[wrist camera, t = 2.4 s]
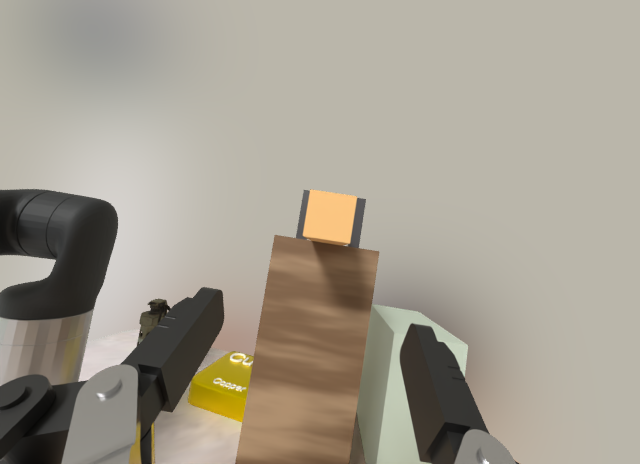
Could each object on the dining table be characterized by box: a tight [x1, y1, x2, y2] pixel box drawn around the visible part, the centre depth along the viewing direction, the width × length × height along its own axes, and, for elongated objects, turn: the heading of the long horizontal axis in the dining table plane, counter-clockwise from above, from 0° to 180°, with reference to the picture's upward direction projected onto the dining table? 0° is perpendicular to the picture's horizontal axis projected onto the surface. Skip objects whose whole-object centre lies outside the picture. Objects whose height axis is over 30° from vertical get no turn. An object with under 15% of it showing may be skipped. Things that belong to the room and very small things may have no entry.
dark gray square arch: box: [296, 190, 366, 248], centre depth 38 cm, size 2×10×8 cm, turn 88°
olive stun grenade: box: [137, 299, 170, 346], centre depth 52 cm, size 6×7×15 cm
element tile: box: [188, 351, 254, 422], centre depth 50 cm, size 15×15×5 cm
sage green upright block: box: [356, 304, 468, 464], centre depth 42 cm, size 18×10×22 cm, turn 178°
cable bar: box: [303, 190, 357, 246], centre depth 30 cm, size 24×4×4 cm, turn 178°
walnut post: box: [235, 235, 379, 464], centre depth 33 cm, size 12×12×32 cm
